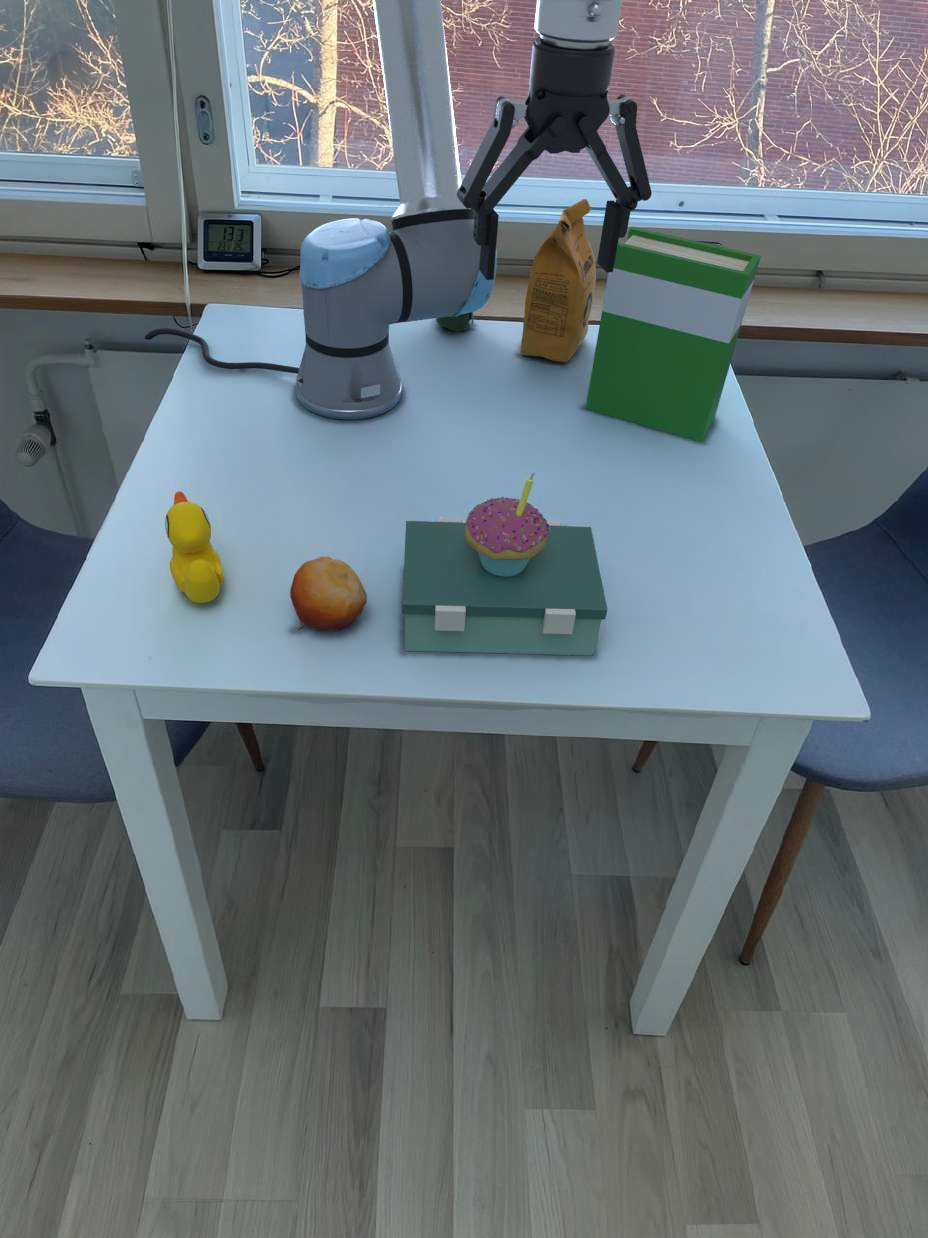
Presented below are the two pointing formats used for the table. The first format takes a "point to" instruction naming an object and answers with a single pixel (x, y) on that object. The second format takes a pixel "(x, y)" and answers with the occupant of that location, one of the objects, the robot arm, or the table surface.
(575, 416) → the table surface
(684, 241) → the hardback book
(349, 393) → the robot arm
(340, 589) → the fruit
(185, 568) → the duckling
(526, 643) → the lunchbox
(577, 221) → the coffee package
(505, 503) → the cupcake
